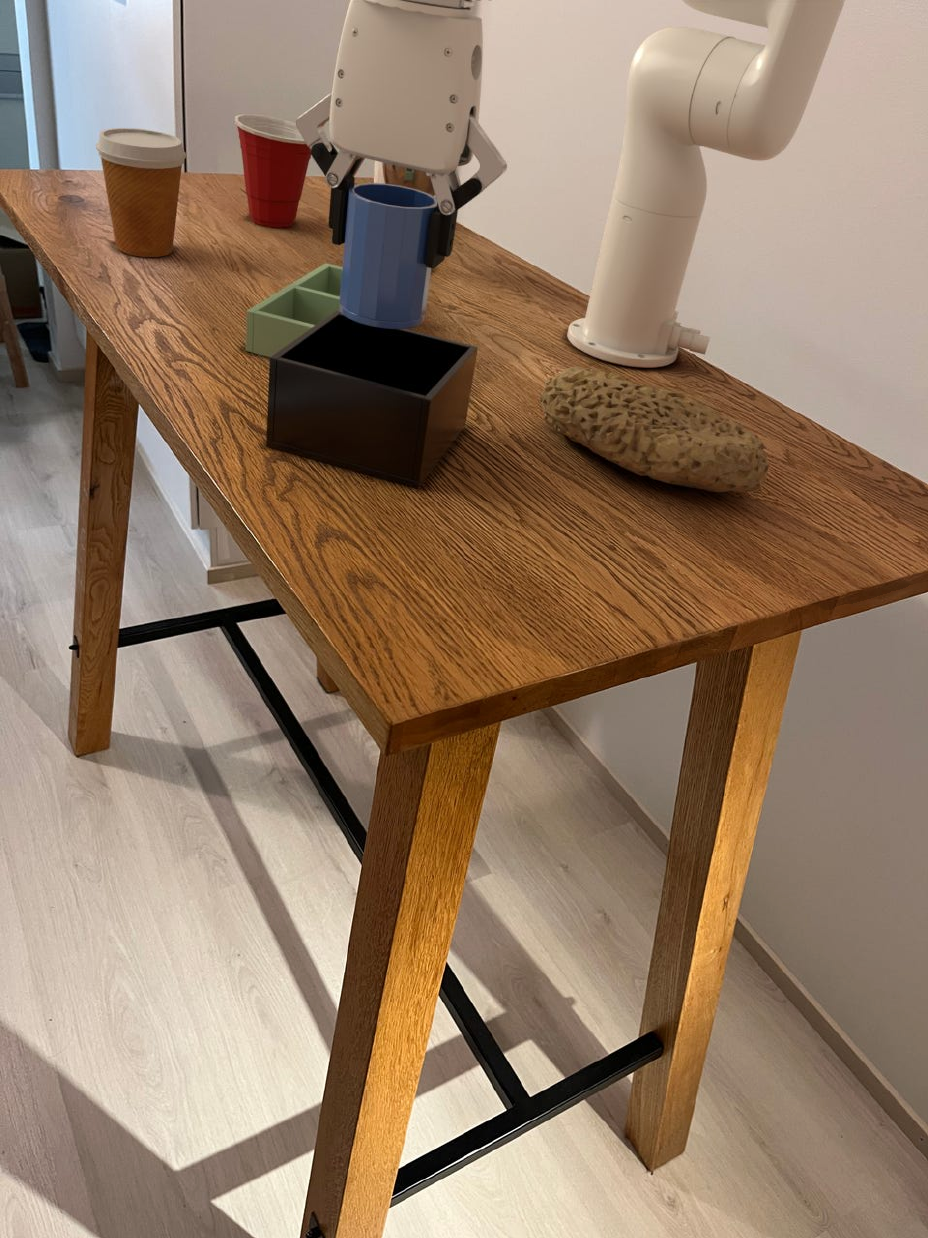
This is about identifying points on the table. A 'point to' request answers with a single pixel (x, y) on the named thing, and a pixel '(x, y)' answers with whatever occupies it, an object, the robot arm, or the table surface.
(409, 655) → the table surface
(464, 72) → the robot arm
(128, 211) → the disposable coffee cup
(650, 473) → the sponge
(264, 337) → the green divided tray
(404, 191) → the blue cup
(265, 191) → the plastic cup
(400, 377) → the open box
